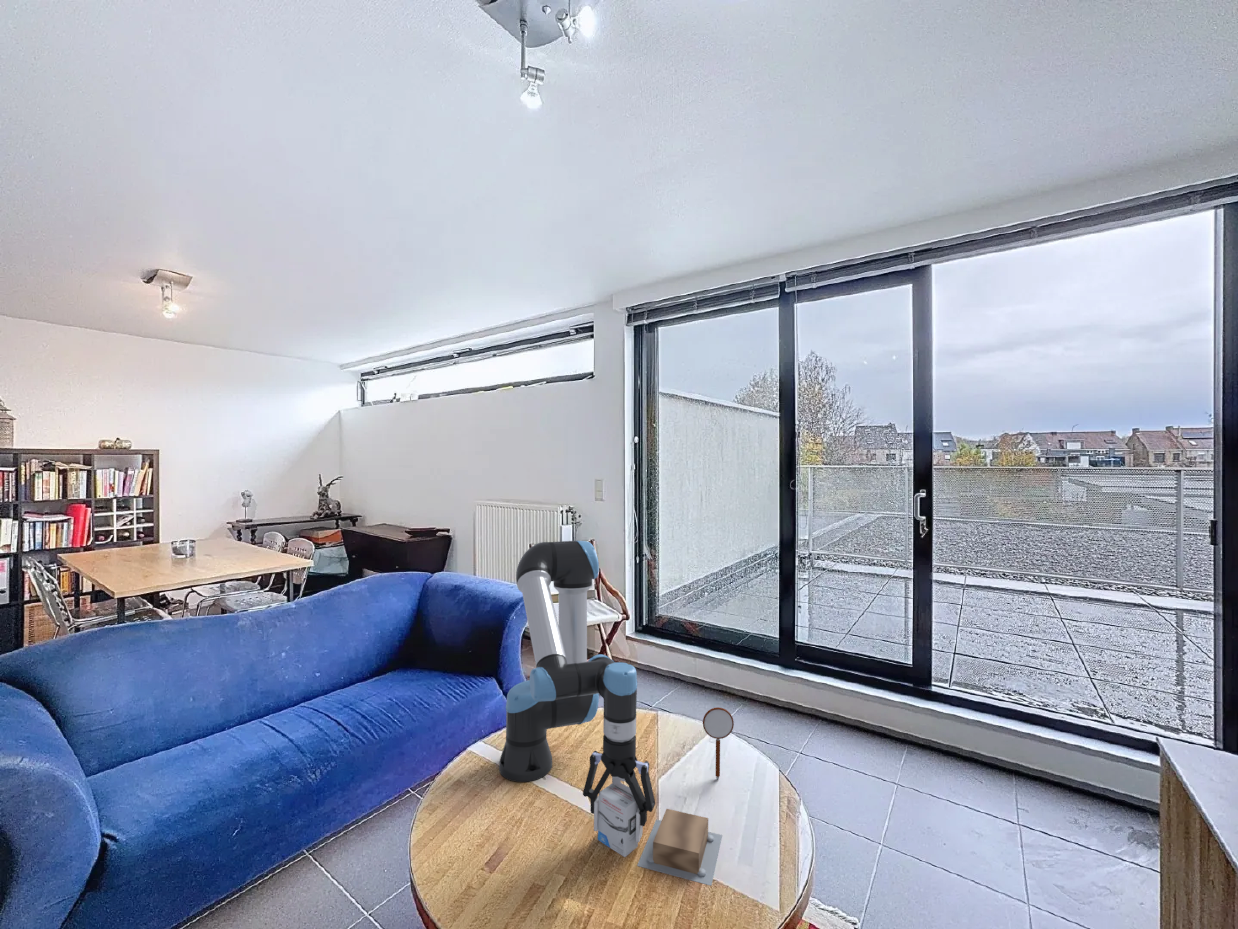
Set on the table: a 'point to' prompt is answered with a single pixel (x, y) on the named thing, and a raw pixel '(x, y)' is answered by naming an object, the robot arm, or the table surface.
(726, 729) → the magnifying glass
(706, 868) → the plate
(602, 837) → the ink box
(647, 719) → the table surface
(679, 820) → the base brick
